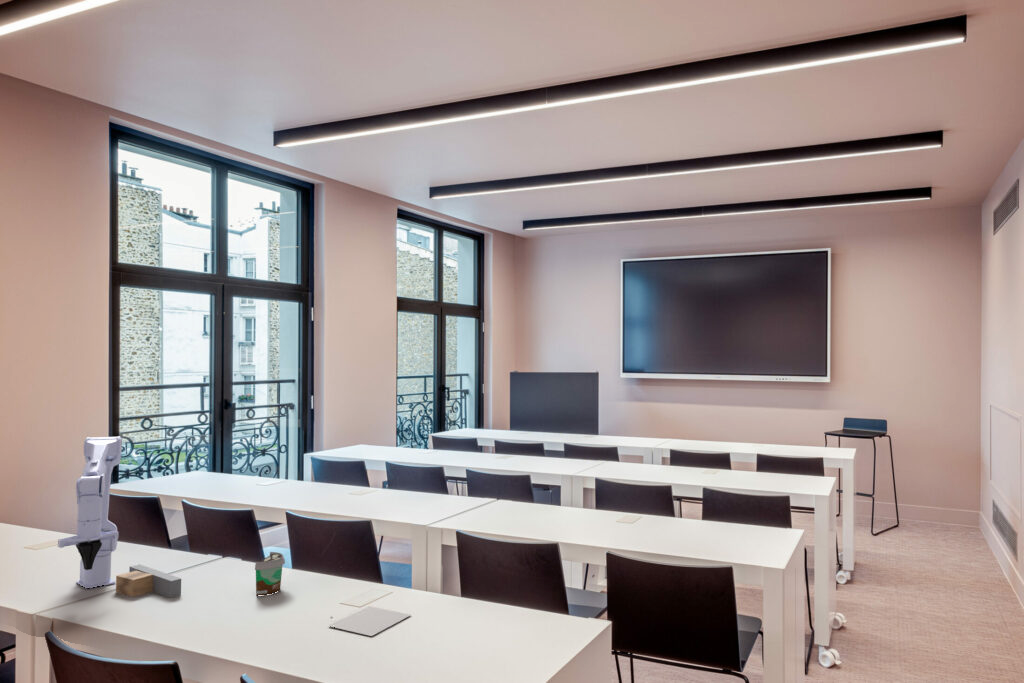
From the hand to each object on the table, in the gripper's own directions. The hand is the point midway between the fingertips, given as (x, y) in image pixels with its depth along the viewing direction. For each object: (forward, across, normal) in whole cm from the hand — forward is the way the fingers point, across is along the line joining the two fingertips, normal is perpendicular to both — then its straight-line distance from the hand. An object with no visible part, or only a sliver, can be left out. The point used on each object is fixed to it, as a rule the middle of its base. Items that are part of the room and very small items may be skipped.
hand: (87, 569), depth 193 cm
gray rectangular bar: (+10, +18, 0) cm, 20 cm away
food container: (+10, +40, -28) cm, 50 cm away
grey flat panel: (+10, +47, -63) cm, 79 cm away
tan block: (+10, +13, +1) cm, 16 cm away
